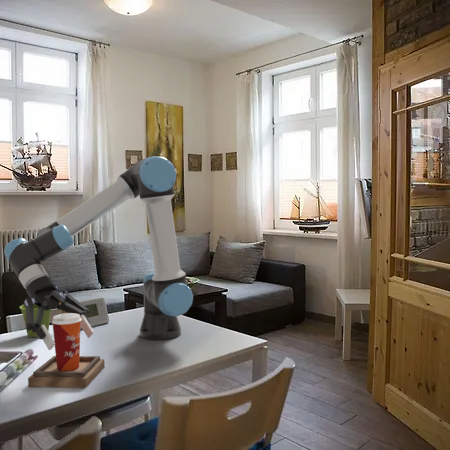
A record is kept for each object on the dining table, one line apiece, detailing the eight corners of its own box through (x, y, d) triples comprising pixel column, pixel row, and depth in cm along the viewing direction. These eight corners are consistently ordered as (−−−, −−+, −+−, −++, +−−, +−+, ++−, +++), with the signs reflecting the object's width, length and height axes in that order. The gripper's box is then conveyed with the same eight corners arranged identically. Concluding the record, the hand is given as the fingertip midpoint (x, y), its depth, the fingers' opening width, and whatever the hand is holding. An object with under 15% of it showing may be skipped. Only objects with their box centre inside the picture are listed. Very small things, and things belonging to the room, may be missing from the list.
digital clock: (74, 331, 189) (73, 304, 189) (65, 327, 196) (64, 300, 195) (113, 324, 199) (112, 298, 199) (103, 320, 206) (102, 295, 206)
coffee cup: (74, 373, 136) (72, 319, 136) (47, 372, 138) (45, 318, 137) (88, 363, 145) (86, 312, 144) (62, 362, 146) (61, 312, 146)
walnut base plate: (104, 367, 149) (104, 355, 149) (86, 387, 133) (85, 374, 133) (52, 366, 150) (52, 354, 150) (28, 387, 134) (27, 373, 134)
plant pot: (38, 329, 193) (37, 300, 192) (61, 333, 187) (60, 303, 187) (13, 337, 182) (12, 307, 182) (36, 341, 177) (35, 310, 176)
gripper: (66, 284, 159) (99, 337, 152) (-7, 298, 138) (27, 360, 131) (76, 269, 156) (111, 322, 148) (3, 281, 135) (39, 344, 128)
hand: (72, 340), depth 139 cm, fingers open, 13 cm apart
